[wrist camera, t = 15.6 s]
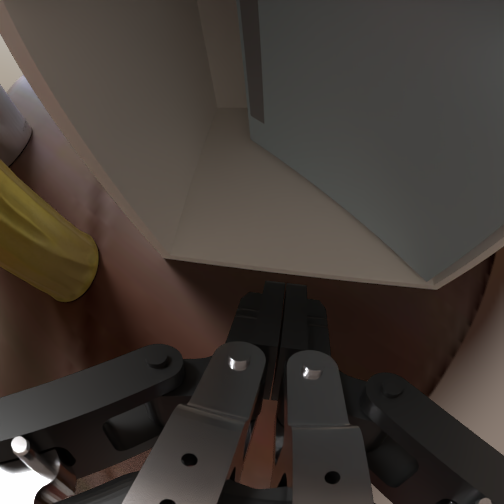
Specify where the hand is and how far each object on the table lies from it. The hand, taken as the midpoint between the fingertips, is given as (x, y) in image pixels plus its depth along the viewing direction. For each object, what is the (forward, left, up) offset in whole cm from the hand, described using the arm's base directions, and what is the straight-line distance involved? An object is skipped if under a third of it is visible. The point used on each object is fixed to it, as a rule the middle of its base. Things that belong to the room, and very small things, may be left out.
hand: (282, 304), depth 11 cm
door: (+9, +4, -6) cm, 12 cm away
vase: (-11, +13, -8) cm, 19 cm away
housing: (+10, +7, -7) cm, 14 cm away
